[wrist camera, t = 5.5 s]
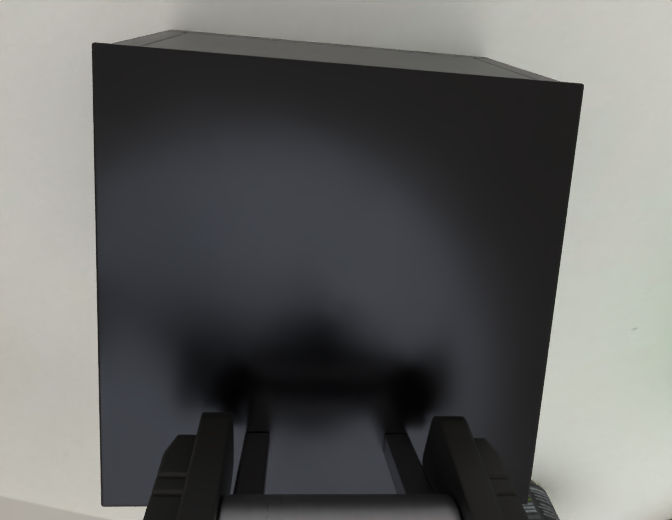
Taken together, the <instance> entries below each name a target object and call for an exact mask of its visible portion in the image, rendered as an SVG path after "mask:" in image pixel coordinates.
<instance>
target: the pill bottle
mask: <svg viewBox="0 0 672 520" xmlns="http://www.w3.org/2000/svg"><path fill="white" fill-rule="evenodd" d="M523 508H524V510H525V512H526V514H527V517H528V519H529V520H560V519H559V518H558V515H557V514H556V511H555V509H554V507H553V505H552V503H551V501H550V499H549V497H548V495H547V494H546V492H545V491H544V490H543V489H542V488H541V487H539V486H538V485H536V484H533V483H530V490H529V498H528V503H527V504H526V505H523Z"/></svg>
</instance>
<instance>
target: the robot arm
mask: <svg viewBox="0 0 672 520" xmlns="http://www.w3.org/2000/svg"><path fill="white" fill-rule="evenodd" d="M233 465H234V426H233V412H203V413H202V415H201V418H200V422H199V427H198V431H197V435H179V434H178V435H177V437H176V438H175V439H174V440H173V442H172V443H171V444H170V445H169V447H168V448H167V449H166V450H165V452H164V453H163V457H162V460H161V463H160V466H159V470H158V473H157V478H156V480H155V483H154V486H153V489H152V495H151V496H150V499H149V502H148V506H147V509H146V512H145V516H144V519H143V520H217V517H218V511H219V506H220V502H221V499H222V497H223V496H224V495H226V494H230V491H231V484H232V476H233ZM422 467H423V469H424V471H425V473H426V475H427V478H428V480H429V482H430V484H431V487H432V489H433V491H434V493H435V494H449V495H451V496H452V497H453V498H454V499H455V501H456V503H457V505H458V508H459V510H460V514H461V517H462V520H529V519H528V517H527V514H526V512H525V510H524V508H523V505H522V503H521V501H520V499H519V496H518V495H516V490H515V487H514V485H513V483H512V481H511V479H509V474H508V472H507V469H506V467H505V465H504V463H503V460H502V458H501V456H500V454H499V453H498V452H497V451H496V450H495V449H494V448H493V447H492V445H491V444H490V443H489V442H488V441H487V440H486V439H485V438H473V435H472V433H471V430H470V428H469V425H468V423H467V421H466V419H465V418H464V417H463V416H434V417H433V419H432V422H431V425H430V429H429V433H428V437H427V441H426V445H425V449H424V453H423V458H422Z"/></svg>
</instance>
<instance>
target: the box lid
mask: <svg viewBox="0 0 672 520" xmlns="http://www.w3.org/2000/svg"><path fill="white" fill-rule="evenodd" d="M92 74H93V123H94V172H95V220H96V269H97V318H98V366H99V415H100V464H101V505H102V506H103V507H118V506H148V502H149V499H150V496H151V495H152V489H153V486H154V483H155V480H156V478H157V473H158V470H159V466H160V463H161V460H162V457H163V453H164V452H165V450H166V449H167V448H168V447H169V445H170V444H171V443H172V442H173V440H174V439H175V438H176V437H177V435H178V434H179V435H197V431H198V427H199V422H200V418H201V415H202V413H203V412H233V426H234V465H233V476H232V484H231V491H230V494H226V495H224V496H223V497H222V499H221V502H220V506H219V511H218V517H217V520H462V517H461V514H460V510H459V508H458V505H457V503H456V501H455V499H454V498H453V497H452V496H451V495H449V494H435V493H434V491H433V489H432V487H431V484H430V482H429V480H428V478H427V475H426V473H425V471H424V469H423V467H422V458H423V453H424V449H425V445H426V441H427V437H428V433H429V429H430V425H431V422H432V419H433V417H434V416H463V417H464V418H465V419H466V421H467V423H468V425H469V428H470V430H471V433H472V435H473V438H485V439H486V440H487V441H488V442H489V443H490V444H491V445H492V447H493V448H494V449H495V450H496V451H497V452H498V453H499V454H500V456H501V458H502V460H503V463H504V465H505V467H506V469H507V472H508V474H509V479H511V481H512V483H513V485H514V487H515V490H516V495H518V496H519V499H520V501H521V503H522V505H526V504H527V503H528V498H529V490H530V483H531V476H532V468H533V461H534V453H535V446H536V438H537V431H538V424H539V416H540V409H541V401H542V394H543V386H544V379H545V372H546V364H547V357H548V349H549V342H550V334H551V327H552V320H553V312H554V305H555V297H556V290H557V283H558V275H559V268H560V260H561V253H562V245H563V238H564V231H565V223H566V216H567V208H568V201H569V193H570V186H571V179H572V171H573V164H574V156H575V149H576V141H577V134H578V127H579V119H580V112H581V104H582V97H583V89H584V85H583V84H581V83H569V82H558V81H546V80H534V79H522V78H510V77H498V76H487V75H475V74H463V73H451V72H439V71H427V70H416V69H404V68H392V67H380V66H368V65H356V64H345V63H333V62H321V61H309V60H297V59H285V58H274V57H262V56H250V55H238V54H226V53H215V52H203V51H191V50H179V49H167V48H155V47H144V46H132V45H120V44H108V43H96V42H95V43H92Z"/></svg>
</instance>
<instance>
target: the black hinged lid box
mask: <svg viewBox="0 0 672 520" xmlns="http://www.w3.org/2000/svg"><path fill="white" fill-rule="evenodd" d="M112 44H120V45H132V46H144V47H155V48H167V49H179V50H191V51H203V52H215V53H226V54H238V55H250V56H262V57H274V58H285V59H297V60H309V61H321V62H333V63H345V64H356V65H368V66H380V67H392V68H404V69H416V70H427V71H439V72H451V73H463V74H475V75H487V76H498V77H510V78H522V79H534V80H546V81H557V80H554V79H550V78H547V77H544V76H541V75H538V74H535V73H532V72H529V71H526V70H523V69H519V68H516V67H513V66H510V65H507V64H504V63H501V62H498V61H495V60H492V59H489V58H486V57H475V56H463V55H452V54H441V53H429V52H418V51H407V50H395V49H384V48H373V47H361V46H350V45H339V44H327V43H316V42H305V41H293V40H282V39H271V38H259V37H248V36H237V35H225V34H214V33H203V32H191V31H180V30H168V31H164V32H159V33H155V34H151V35H146V36H142V37H138V38H134V39H129V40H125V41H121V42H116V43H112ZM558 82H560V81H558Z"/></svg>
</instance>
